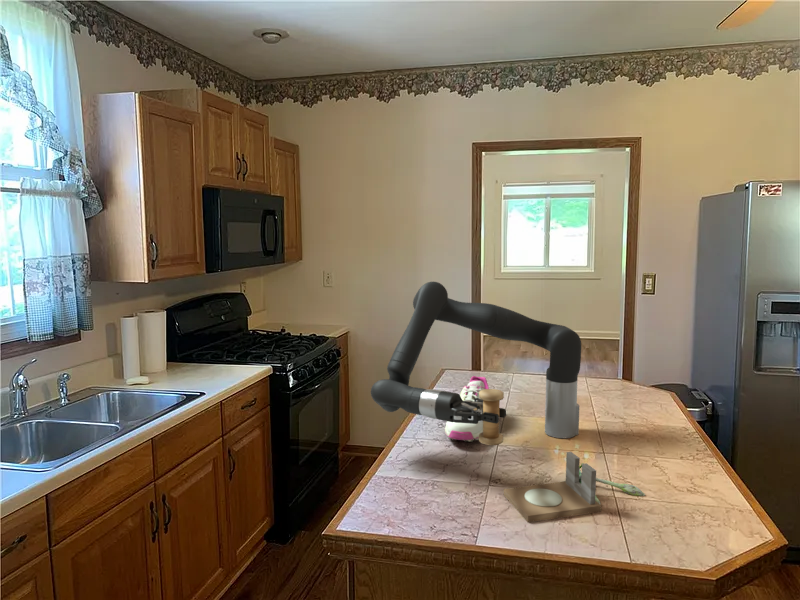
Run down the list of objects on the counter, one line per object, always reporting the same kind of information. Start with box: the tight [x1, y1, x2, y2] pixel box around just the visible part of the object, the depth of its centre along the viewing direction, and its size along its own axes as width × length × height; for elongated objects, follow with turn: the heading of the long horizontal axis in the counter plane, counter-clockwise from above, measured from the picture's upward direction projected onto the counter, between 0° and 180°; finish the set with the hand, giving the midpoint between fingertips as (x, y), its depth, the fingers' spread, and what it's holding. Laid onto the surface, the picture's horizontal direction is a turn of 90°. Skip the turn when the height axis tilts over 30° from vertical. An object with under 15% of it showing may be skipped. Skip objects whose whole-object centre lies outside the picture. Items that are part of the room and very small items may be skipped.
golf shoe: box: [444, 375, 490, 443], centre depth 180 cm, size 12×33×15 cm, turn 163°
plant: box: [579, 462, 646, 506], centre depth 142 cm, size 15×16×6 cm
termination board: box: [503, 451, 602, 523], centre depth 134 cm, size 18×13×10 cm
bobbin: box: [478, 388, 505, 446], centre depth 143 cm, size 6×6×12 cm
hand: (501, 416), depth 142 cm, fingers closed on bobbin, 4 cm apart
